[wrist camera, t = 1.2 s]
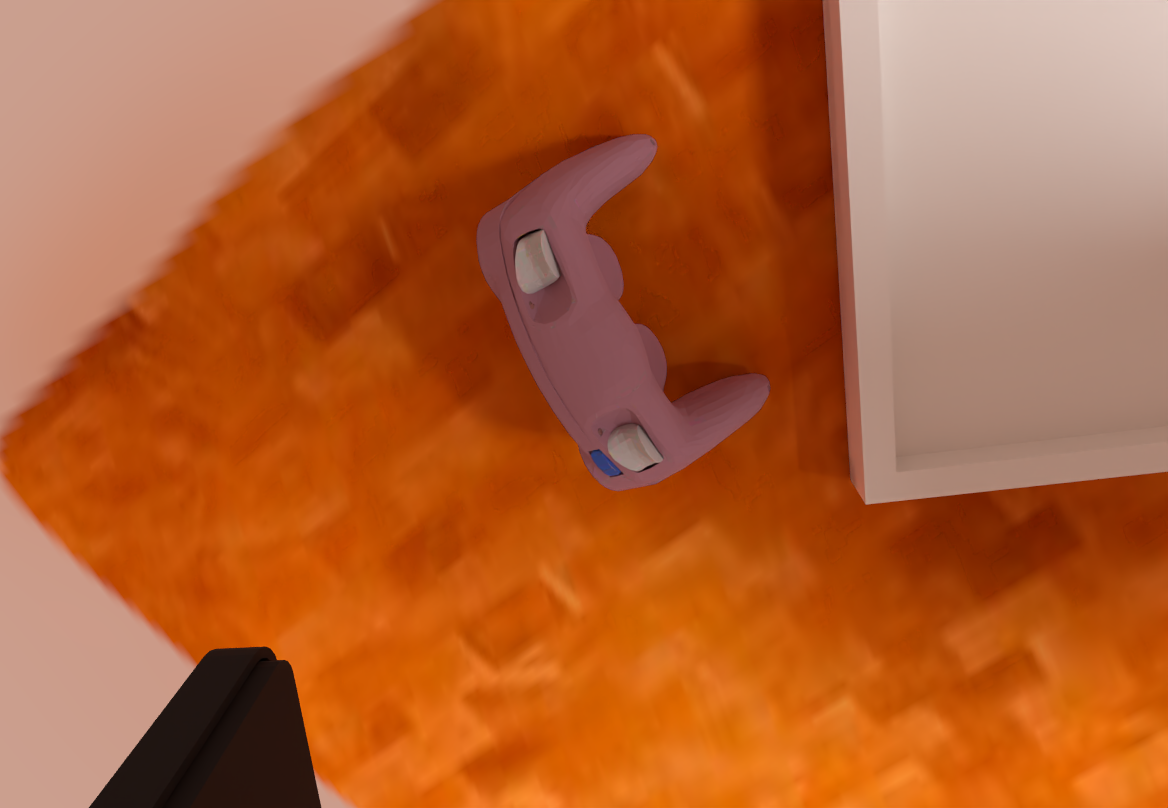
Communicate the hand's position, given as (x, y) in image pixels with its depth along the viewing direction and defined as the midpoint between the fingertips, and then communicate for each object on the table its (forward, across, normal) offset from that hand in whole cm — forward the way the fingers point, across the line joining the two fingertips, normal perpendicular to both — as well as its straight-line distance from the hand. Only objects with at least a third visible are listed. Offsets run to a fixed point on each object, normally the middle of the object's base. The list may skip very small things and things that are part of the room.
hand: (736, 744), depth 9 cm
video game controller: (+20, 0, -1) cm, 20 cm away
